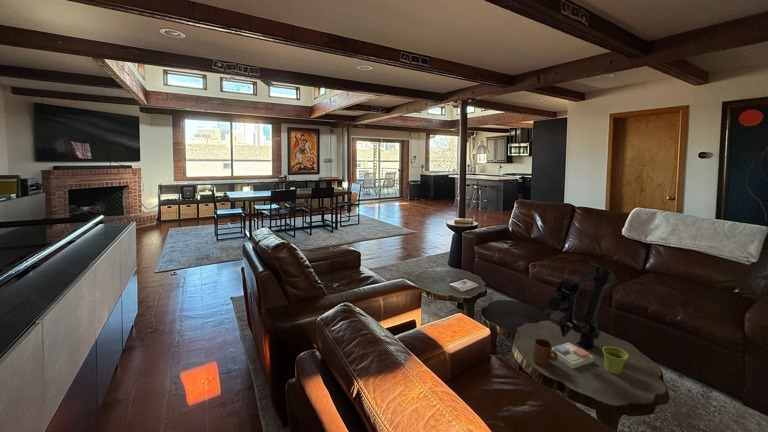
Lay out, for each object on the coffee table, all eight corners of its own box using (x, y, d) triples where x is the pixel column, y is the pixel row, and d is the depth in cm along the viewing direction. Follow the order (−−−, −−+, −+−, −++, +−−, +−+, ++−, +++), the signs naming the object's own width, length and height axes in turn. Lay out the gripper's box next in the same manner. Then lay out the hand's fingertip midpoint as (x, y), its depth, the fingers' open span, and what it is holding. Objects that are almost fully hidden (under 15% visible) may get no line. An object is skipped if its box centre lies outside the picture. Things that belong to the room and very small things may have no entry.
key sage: (570, 357, 168) (571, 353, 168) (579, 362, 164) (579, 358, 164) (564, 359, 166) (564, 355, 166) (572, 364, 162) (572, 360, 162)
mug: (562, 370, 160) (564, 350, 158) (549, 374, 157) (551, 354, 155) (541, 355, 171) (543, 337, 169) (528, 358, 168) (530, 340, 166)
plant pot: (617, 379, 154) (620, 361, 152) (595, 367, 162) (598, 349, 160) (629, 373, 158) (632, 355, 156) (608, 361, 166) (610, 344, 164)
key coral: (579, 351, 170) (580, 348, 170) (588, 357, 166) (588, 353, 166) (573, 354, 168) (573, 350, 168) (581, 359, 164) (582, 355, 164)
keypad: (568, 347, 177) (569, 342, 177) (592, 362, 166) (593, 356, 165) (548, 353, 172) (549, 348, 172) (572, 369, 161) (573, 363, 160)
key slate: (560, 348, 173) (561, 344, 172) (568, 353, 169) (569, 349, 168) (554, 350, 171) (554, 346, 171) (561, 355, 167) (562, 351, 167)
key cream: (569, 348, 175) (569, 344, 175) (577, 352, 171) (577, 349, 171) (562, 350, 174) (562, 346, 173) (570, 355, 170) (570, 351, 169)
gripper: (538, 300, 170) (535, 331, 173) (573, 318, 153) (569, 351, 156) (555, 296, 174) (551, 326, 177) (591, 313, 158) (586, 345, 161)
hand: (563, 336), depth 168 cm, fingers closed
